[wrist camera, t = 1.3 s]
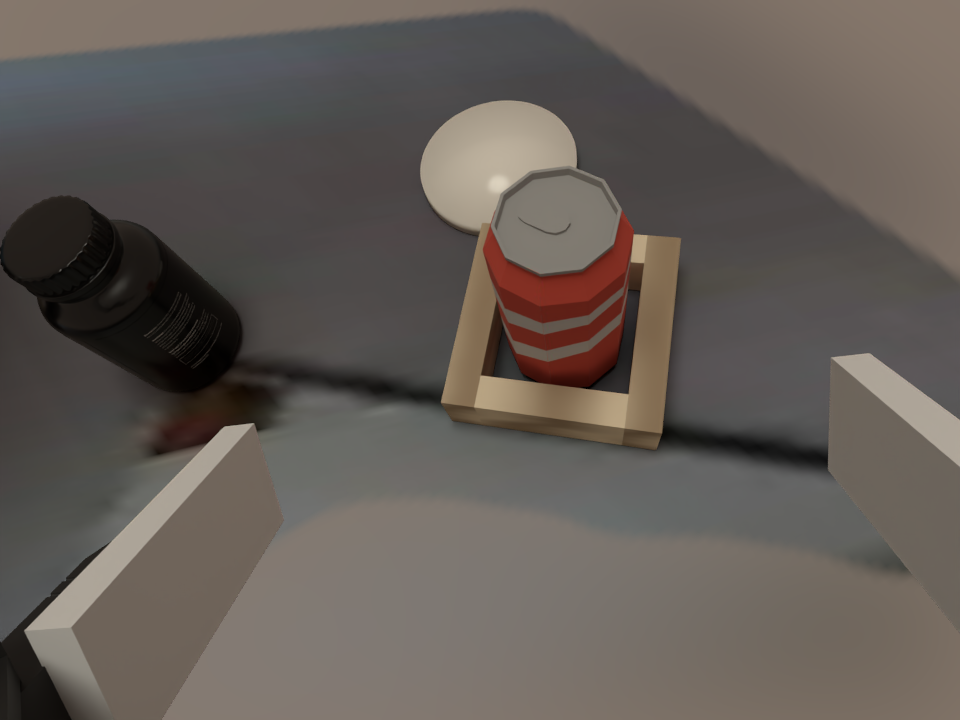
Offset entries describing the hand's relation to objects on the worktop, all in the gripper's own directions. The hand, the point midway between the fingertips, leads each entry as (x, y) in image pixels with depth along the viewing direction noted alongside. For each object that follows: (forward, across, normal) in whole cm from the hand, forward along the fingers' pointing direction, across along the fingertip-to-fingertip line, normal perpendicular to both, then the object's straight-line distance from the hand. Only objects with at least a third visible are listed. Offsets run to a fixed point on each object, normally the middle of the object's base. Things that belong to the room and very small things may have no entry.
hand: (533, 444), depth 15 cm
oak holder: (+22, +1, -5) cm, 22 cm away
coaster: (+31, -2, +4) cm, 31 cm away
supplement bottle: (+24, -22, -3) cm, 32 cm away
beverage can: (+22, +1, -6) cm, 23 cm away
